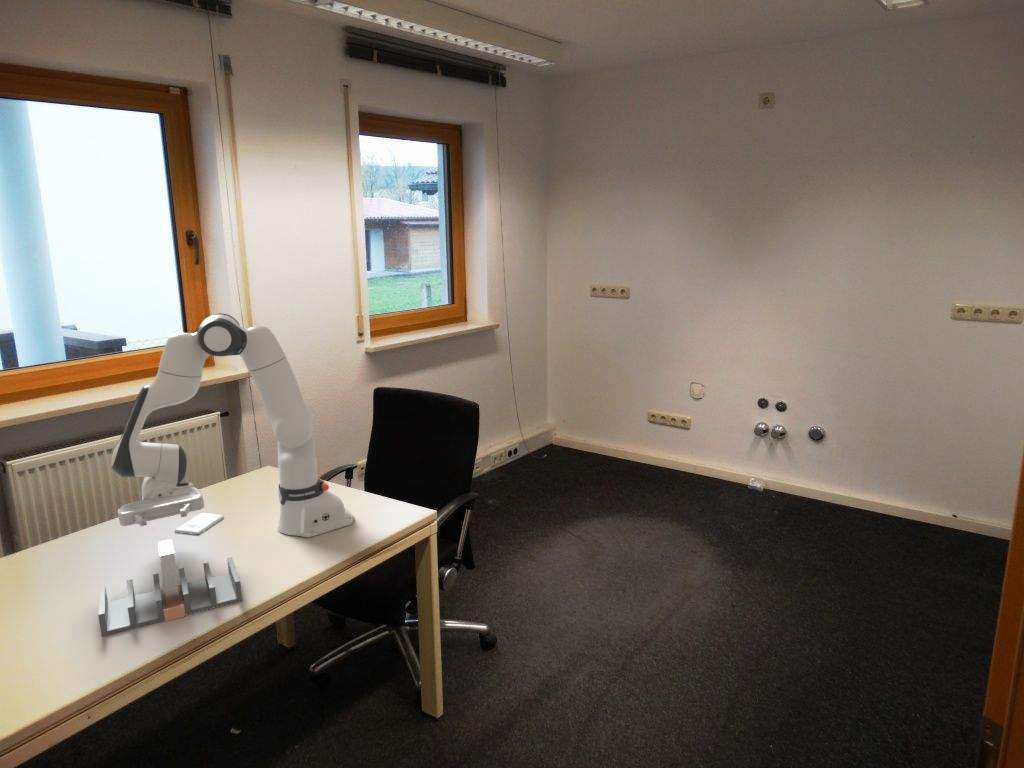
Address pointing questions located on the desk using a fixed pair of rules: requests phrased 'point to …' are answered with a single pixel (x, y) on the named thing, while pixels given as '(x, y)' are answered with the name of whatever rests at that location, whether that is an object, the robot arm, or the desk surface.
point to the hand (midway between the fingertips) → (163, 518)
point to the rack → (153, 603)
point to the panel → (169, 573)
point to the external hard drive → (199, 523)
